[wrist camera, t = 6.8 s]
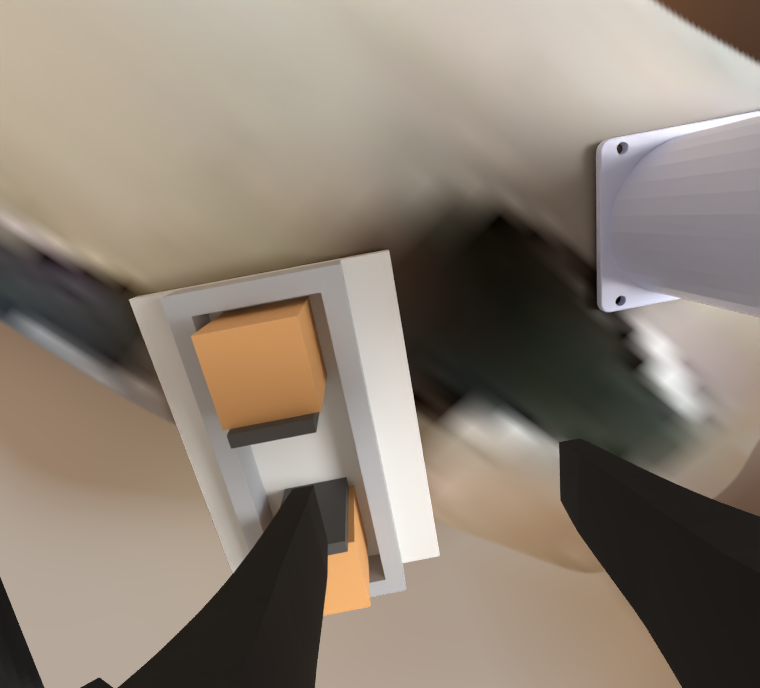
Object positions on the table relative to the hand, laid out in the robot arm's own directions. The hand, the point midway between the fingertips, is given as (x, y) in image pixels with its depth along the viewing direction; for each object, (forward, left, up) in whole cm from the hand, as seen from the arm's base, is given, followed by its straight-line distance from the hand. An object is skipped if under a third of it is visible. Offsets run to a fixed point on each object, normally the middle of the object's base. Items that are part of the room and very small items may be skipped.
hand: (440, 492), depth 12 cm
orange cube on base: (+6, -2, -9) cm, 11 cm away
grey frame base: (+6, +3, -10) cm, 12 cm away
